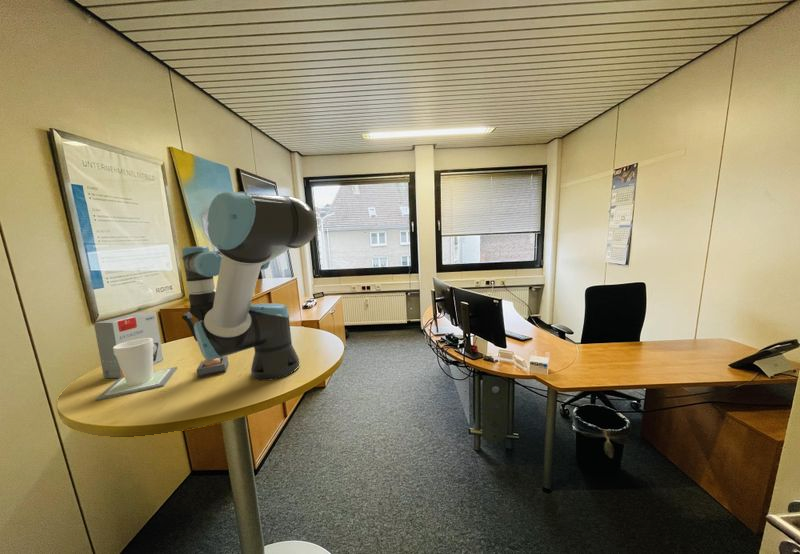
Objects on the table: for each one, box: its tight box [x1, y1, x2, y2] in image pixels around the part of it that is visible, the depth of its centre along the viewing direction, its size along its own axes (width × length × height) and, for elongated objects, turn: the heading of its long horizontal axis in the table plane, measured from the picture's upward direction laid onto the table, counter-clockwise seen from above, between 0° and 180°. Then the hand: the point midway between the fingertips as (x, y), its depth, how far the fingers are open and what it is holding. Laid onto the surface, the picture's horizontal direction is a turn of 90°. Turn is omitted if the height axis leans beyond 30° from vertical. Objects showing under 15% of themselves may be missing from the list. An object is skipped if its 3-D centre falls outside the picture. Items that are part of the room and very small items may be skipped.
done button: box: [203, 358, 221, 367], centre depth 99 cm, size 5×5×3 cm
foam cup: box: [113, 338, 154, 386], centre depth 92 cm, size 10×9×13 cm
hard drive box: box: [93, 311, 164, 379], centre depth 104 cm, size 16×8×20 cm, turn 171°
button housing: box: [196, 355, 229, 379], centre depth 99 cm, size 8×8×3 cm
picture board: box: [94, 366, 178, 401], centre depth 93 cm, size 15×16×1 cm
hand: (212, 358), depth 98 cm, fingers closed
